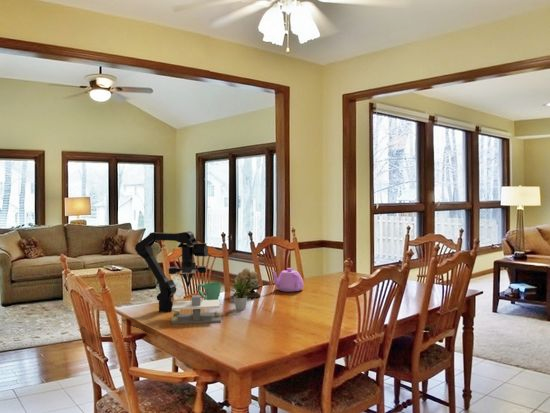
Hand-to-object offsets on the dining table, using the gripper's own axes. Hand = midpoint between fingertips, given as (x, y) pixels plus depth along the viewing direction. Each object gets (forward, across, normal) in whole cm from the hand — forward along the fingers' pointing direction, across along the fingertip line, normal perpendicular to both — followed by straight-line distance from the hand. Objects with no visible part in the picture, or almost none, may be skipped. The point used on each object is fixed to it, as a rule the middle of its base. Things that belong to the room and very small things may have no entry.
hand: (188, 286), depth 245 cm
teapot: (+13, +57, +45) cm, 74 cm away
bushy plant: (+13, +32, +32) cm, 47 cm away
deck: (+6, +5, -15) cm, 17 cm away
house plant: (+13, +27, +1) cm, 30 cm away
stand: (+13, +5, -15) cm, 20 cm away
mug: (+13, +10, +22) cm, 28 cm away
